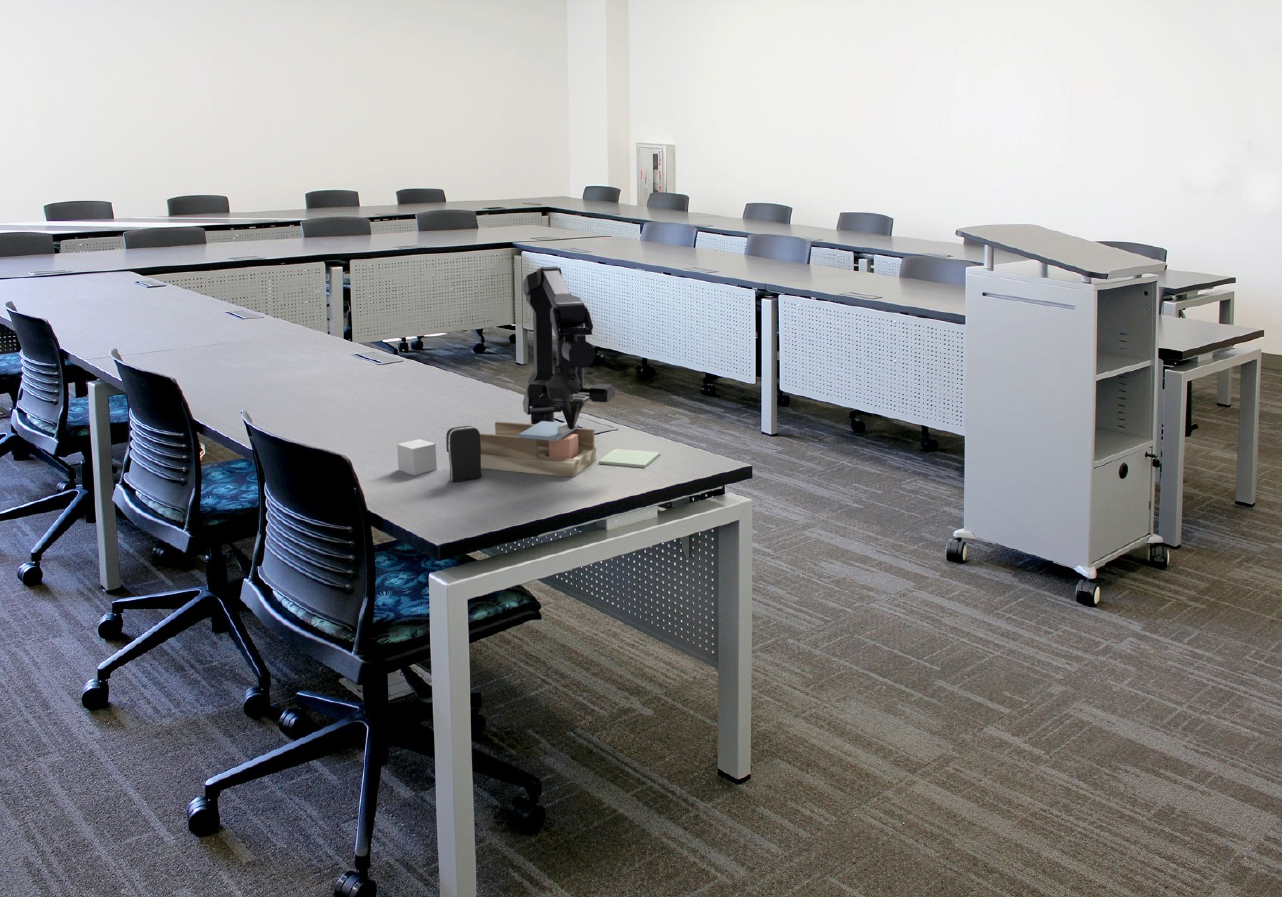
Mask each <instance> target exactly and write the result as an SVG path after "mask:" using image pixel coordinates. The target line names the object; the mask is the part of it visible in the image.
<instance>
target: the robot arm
mask: <svg viewBox="0 0 1282 897" xmlns="http://www.w3.org/2000/svg"><path fill="white" fill-rule="evenodd" d="M522 289H523V294H524V296H525V300H526V303H527V304H528V306H529V307H530V309H531V311H532V328H533V329H532V330H533V331H532V333H533V340H532V341H533V372H532V374H531V375H530V377H529V378H528V380H527V388H526V390H525V393H524V397H523V400H522V408H523V413H525V414H526V415H528V416H529V415H530V424H537V423H539V422H541V421H547V422H555V413H562V414H563V417H564V420H565V422H567V425H568V427H569V429H571V430H573V429H574V427H575V425H576V424H577V422H578V419H579V417H580V414H581V411H582V410H583V407H584V406H585V403H587V402H588V401H591V402H593V403H608V402H610V401H611V400H612V399H614V398H616V388H615V387H614V385H613V384H608V383H607V384H605V383H597V384H595V385H593V386H591V387H585V386H586V385H587V384H586V382H587V381H586V380H584V377H585V376H584V374H585V372H584V368H588V367H589V366H591V365H592V364H593V362H594V360H595V358H596V351H595V348H594V346H593V345H592V344H591V343H590V342H588V341H587V336H592V335H593V332H592V331H593V328H594V325H593V320H592V318H591V314H590V311H589V309H588V307H587V305H585V303H584V301H583V300H582V299H581V298H580V297H579V296H575V295H573V294H572V293H571V291H570V289H569V288H568V286H567V284H566V281H565V279H564V278H563V274H562V270H561V267H558V266H541V267H539V268H537V269H536V271H534V272H531V273H529V274H527V275H526V276H525V277H524V280H523V283H522ZM553 332H554V336H555V337H556V338H555V339H556V340H555V341H556V342H555V343H556V365H555V366H554V364H553V363H554V362H553V360H554V355H553V353H554V352H553ZM553 366H554V367H553ZM553 369H554V370H553Z"/></svg>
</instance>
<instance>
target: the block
mask: <svg viewBox="0 0 1282 897" xmlns="http://www.w3.org/2000/svg"><path fill="white" fill-rule="evenodd" d="M577 455H579V453H578V434H567V435H566V436H564V437H562V438H561V439H559V440H558V441H553V440H549V457H557V458H569V459H573V458H575V457H576V456H577Z"/></svg>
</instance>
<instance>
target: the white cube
mask: <svg viewBox="0 0 1282 897" xmlns="http://www.w3.org/2000/svg"><path fill="white" fill-rule="evenodd" d="M396 447H397V450H396V451H397V462H398V463H397V464H398V465H397V466H398V471H401V472H404V473H407V474H410V475H413V476H416V475H420V474H425V473H428V471H429V472H432V471H436V470H437V471H438V467H437V466H438V465H437V463H438V462H437V447H436V443H434V442H430V441H428V440H427V441H426V440H424V439H420V438H418V439H413V440H410V441H405V442H404V441H403V442H400V443H396ZM424 472H425V473H424Z"/></svg>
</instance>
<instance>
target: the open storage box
mask: <svg viewBox="0 0 1282 897" xmlns="http://www.w3.org/2000/svg"><path fill="white" fill-rule="evenodd" d="M534 425H536V424H531V423H523V422H521V423H520V422H510V421H509V422H508V421H499V420H498V421H495V422H494V426H495V427H494V428H495V430H494V431H495V434H494V433H481V432H479V433H480V441H481V470H482V469H483V470H492V471H493V470H494V471H495V470H496V471H505V472H514V473H515V472H517V473H528V474H537V475H549V476H559V477H568V478H569V477H570V478H574V477H575V476H577V475H578V474H579V473H581V472H582V471H583V470H585V469H587V468H588V467H589V466H591V465H592V464H593V463H595V462H596V461H597V447H596V446H595V429H594V428H585V427H584V428H583V427H578V428H577V429H575V430H573V431H572V432H570V433H569V434H578V453H579V455H577V456H576V457H575V458H573V459H569V458H557V457H549V440H541V439H528V438H519V434H520V433H522V432H523V431H525V430H527V429H529V428H530V427H532V426H534Z"/></svg>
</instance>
